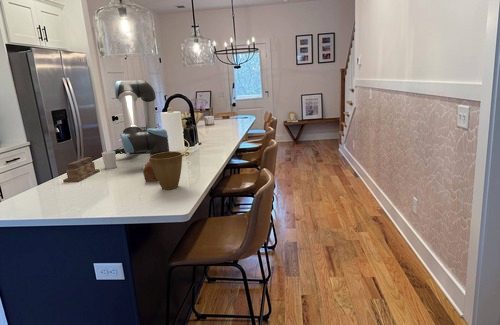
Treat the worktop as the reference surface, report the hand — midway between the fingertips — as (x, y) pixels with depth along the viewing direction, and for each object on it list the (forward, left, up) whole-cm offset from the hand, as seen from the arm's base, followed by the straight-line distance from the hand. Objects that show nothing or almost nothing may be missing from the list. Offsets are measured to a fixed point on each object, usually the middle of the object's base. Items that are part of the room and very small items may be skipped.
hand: (116, 155), depth 219 cm
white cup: (-5, +8, -6) cm, 12 cm away
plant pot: (-76, +24, -6) cm, 80 cm away
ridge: (-9, +29, -6) cm, 31 cm away
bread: (-55, +13, -6) cm, 57 cm away
